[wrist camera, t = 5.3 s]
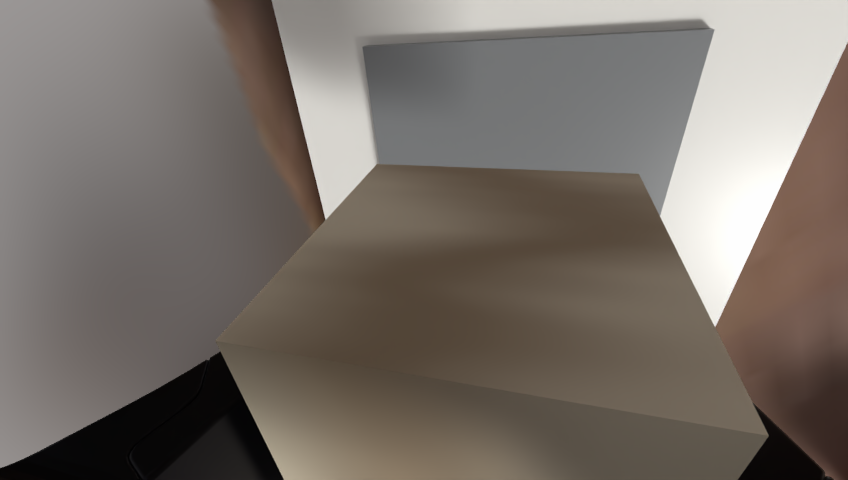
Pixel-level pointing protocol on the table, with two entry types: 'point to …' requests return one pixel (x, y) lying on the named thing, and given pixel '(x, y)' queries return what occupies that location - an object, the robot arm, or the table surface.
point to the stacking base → (574, 99)
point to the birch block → (491, 338)
